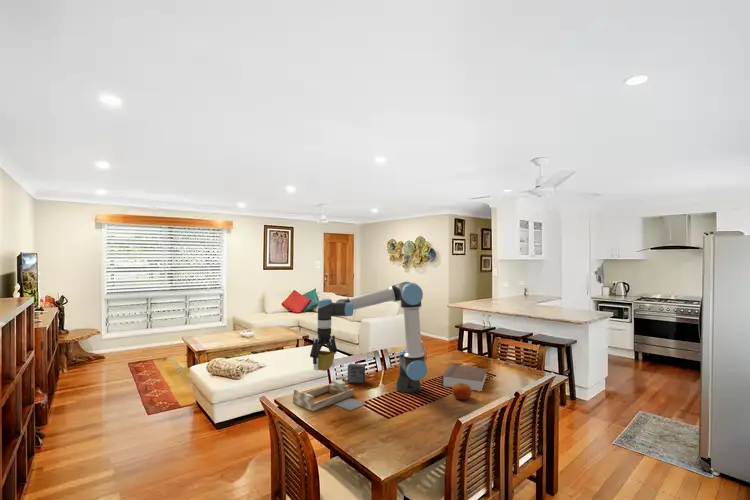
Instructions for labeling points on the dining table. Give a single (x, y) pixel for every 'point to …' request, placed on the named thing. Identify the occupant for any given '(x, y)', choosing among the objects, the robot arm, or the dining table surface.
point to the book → (464, 376)
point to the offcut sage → (339, 383)
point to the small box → (356, 373)
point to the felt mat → (350, 404)
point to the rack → (308, 400)
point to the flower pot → (325, 360)
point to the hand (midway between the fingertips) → (323, 367)
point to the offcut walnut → (334, 391)
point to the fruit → (461, 391)
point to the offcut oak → (339, 388)
